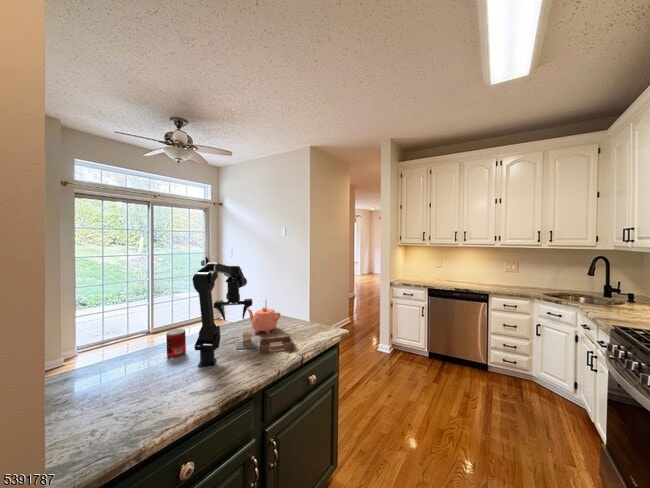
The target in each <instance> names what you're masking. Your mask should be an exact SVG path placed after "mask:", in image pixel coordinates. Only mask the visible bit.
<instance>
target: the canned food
mask: <svg viewBox="0 0 650 488" xmlns="http://www.w3.org/2000/svg"><path fill="white" fill-rule="evenodd" d="M186 336H187V335H186V329H185V328H177V329H176V328H175V329H171V330H169V331H167V332H166V339H165V340H166V356H167V358H170V359H175V358H180V357H182V356H184V355H186V352H187V350H186V349H187V346H186V340H187V339H186Z"/></svg>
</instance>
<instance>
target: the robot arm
mask: <svg viewBox="0 0 650 488" xmlns="http://www.w3.org/2000/svg"><path fill="white" fill-rule="evenodd" d="M218 273H219V274H223V276H225V277H226V278H227V279H226V280H225V283H226V285H227V287H226V288H227V293H226V297H225V299H226V300H227V301H224V300H223V299H221V300H215V302H213V295H212V292H213V289H214V288H215V286H216V284H215V283H216V280H217V279H218V278H219V274H218ZM192 284H193V288H194V290H195V291H196V293H198V297H199V306H200V309H199V310H200V316H201V317H200V319H201V327H200V328H199V331H198V337H197V340H196V342H195V344H194V346H193V347H194V350H195V351H199V360H200V361H199V362H198V364H197V367H199V368H201V367H211V366H215V364H216V362H217V357H215V351H216V350H218V348H219V347H220V343H221V342H220V341H221V331H220V330H221V328H220V324H216V323H215V315H214V309H216V311H219V314H220V315H221V317H222V319H223V321H225V322H226V312H225V306H226V307H227V306H239V305H243V309H242V320H244V319H245V315H246V311H248V310H247V309H250V307H252V306H253V299H252V298H245V299H244V300H241V295H240V288H244V287H246V285H247V284H248V280H247V278H246V277H245V275H244V273H243V269H242V268H241V267H240V265H226V264H222V263H219V262H208V263H206V265H205V266H203V267H202V268H200V269H198V270H197V271H196V273H194V275H193V277H192Z"/></svg>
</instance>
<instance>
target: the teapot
mask: <svg viewBox="0 0 650 488" xmlns="http://www.w3.org/2000/svg"><path fill="white" fill-rule="evenodd" d="M246 311H247V312H248V313H249V314H248V315H249V320H250V321H251V328H252V330H253V331H254V333H255V334H256V333H257V334H258V333H260V332H265V334H270V333H271V331H274V330H276V329H275V328H276V327H277V325H278V321H279V319H281V312H277V311H276V312H275V309H272V308H268V307H262V308H261V309H259V310H256V311H255V312H254V313H253V311H252V310H251V309H250V308H247V310H246Z"/></svg>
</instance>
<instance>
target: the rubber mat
mask: <svg viewBox="0 0 650 488" xmlns="http://www.w3.org/2000/svg"><path fill="white" fill-rule="evenodd" d="M258 340H259V339H254V340H253V339H251V345H249V346H243V340H242V341H237V344H236V348H235V350H236V351H239V350H248V349H250V350H251V349H256V348H257V349H258V342H259V341H258Z"/></svg>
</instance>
